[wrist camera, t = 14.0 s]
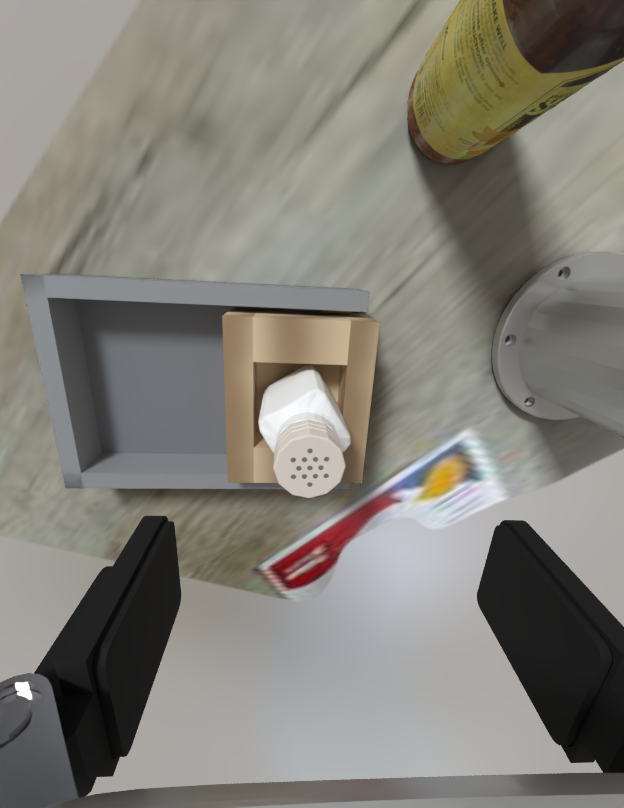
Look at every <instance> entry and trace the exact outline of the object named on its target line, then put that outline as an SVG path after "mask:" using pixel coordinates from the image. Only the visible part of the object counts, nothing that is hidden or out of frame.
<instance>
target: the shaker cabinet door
mask: <svg viewBox="0 0 624 808" xmlns="http://www.w3.org/2000/svg"><path fill="white" fill-rule="evenodd" d="M222 325H223V354H224V384H225V414H226V443H227V473H228V483H278V481H277V478H276V475H275V472H274V469H273V464H274V453H273V451H272V450H271V448H270V447H269V445H268V444H267V442H266V441H265V439H264V437H263V436H262V434H261V432H260V430H259V423H258V421H259V416H260V410H261V405H262V399H263V394H264V391H265V390H266V388H267V387H268V386H270V385H271V384H273V383H275V382H277V381H278V380H280V379H282V378H284V377H285V376H287V375H289V374H291V373H292V372H294V371H296V370H298V369H299V368H301V367H303V366H305V365H313V366H314V367H316V368H317V369H318V371H319V372H320V374H321V376H322V378H323V379H324V381H325V383H326V385H327V386H328V388H329V390H330V391H331V393H332V395H333V397H334V398H335V400H336V402H337V404H338V406H339V409H340V411H341V414H342V416H343V419H344V421H345V424H346V426H347V429H348V431H349V434H350V438H351V443H350V445H349V446H348V448H347V449H346V451H344V452H343V457H344V461H345V465H346V467H345V470H344V473H343V476H342V479H341V482H340V483H362V478H363V469H364V460H365V451H366V442H367V433H368V424H369V415H370V406H371V397H372V389H373V380H374V371H375V362H376V353H377V344H378V335H379V326H380V322H378V321H376V320H374V319H373V318H371V317H369V316H367V315H365V314H351V313H328V312H306V311H284V310H261V309H239V308H233V309H231V310H230V311H228V312H227V313H225V314H224V315H222Z"/></svg>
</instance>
